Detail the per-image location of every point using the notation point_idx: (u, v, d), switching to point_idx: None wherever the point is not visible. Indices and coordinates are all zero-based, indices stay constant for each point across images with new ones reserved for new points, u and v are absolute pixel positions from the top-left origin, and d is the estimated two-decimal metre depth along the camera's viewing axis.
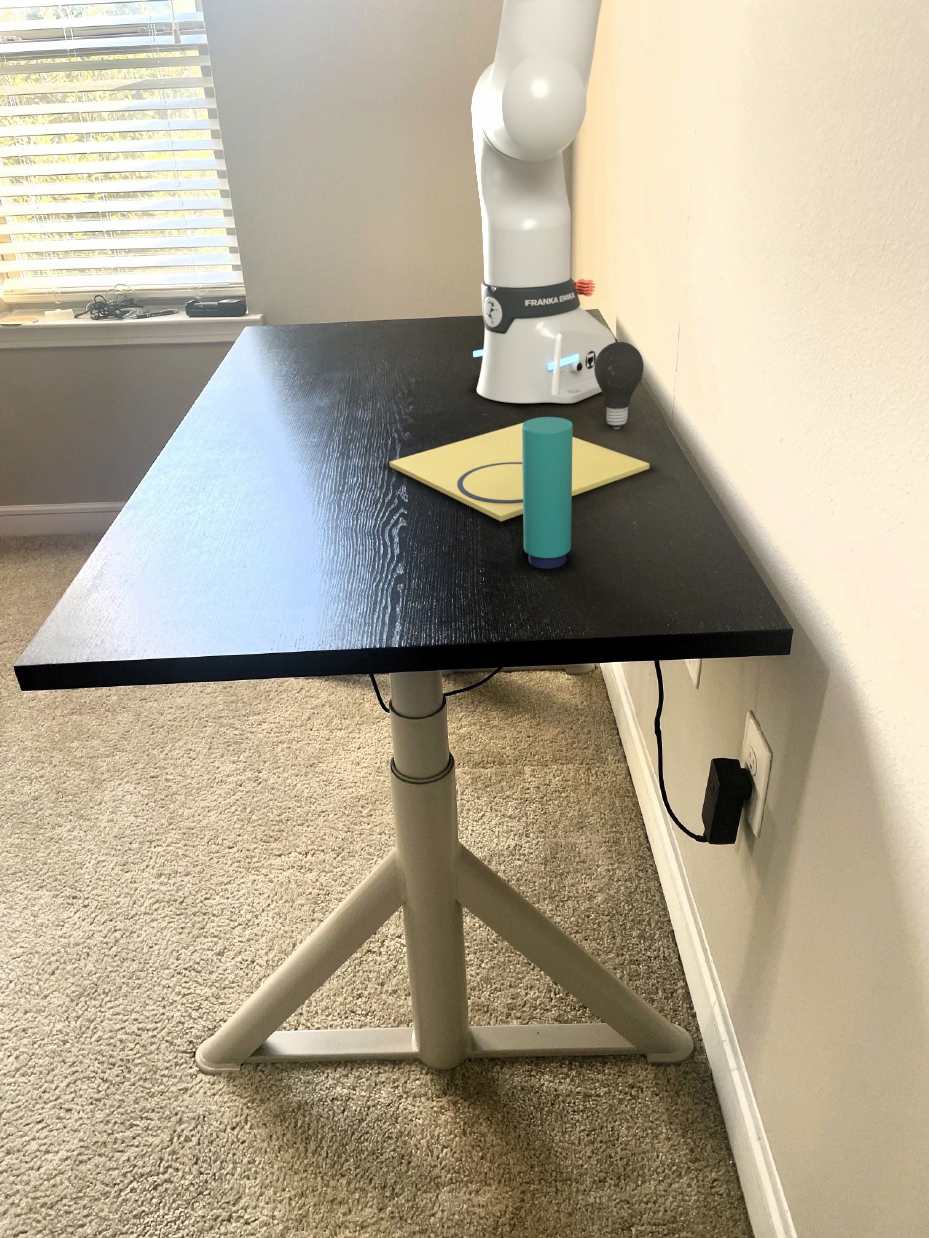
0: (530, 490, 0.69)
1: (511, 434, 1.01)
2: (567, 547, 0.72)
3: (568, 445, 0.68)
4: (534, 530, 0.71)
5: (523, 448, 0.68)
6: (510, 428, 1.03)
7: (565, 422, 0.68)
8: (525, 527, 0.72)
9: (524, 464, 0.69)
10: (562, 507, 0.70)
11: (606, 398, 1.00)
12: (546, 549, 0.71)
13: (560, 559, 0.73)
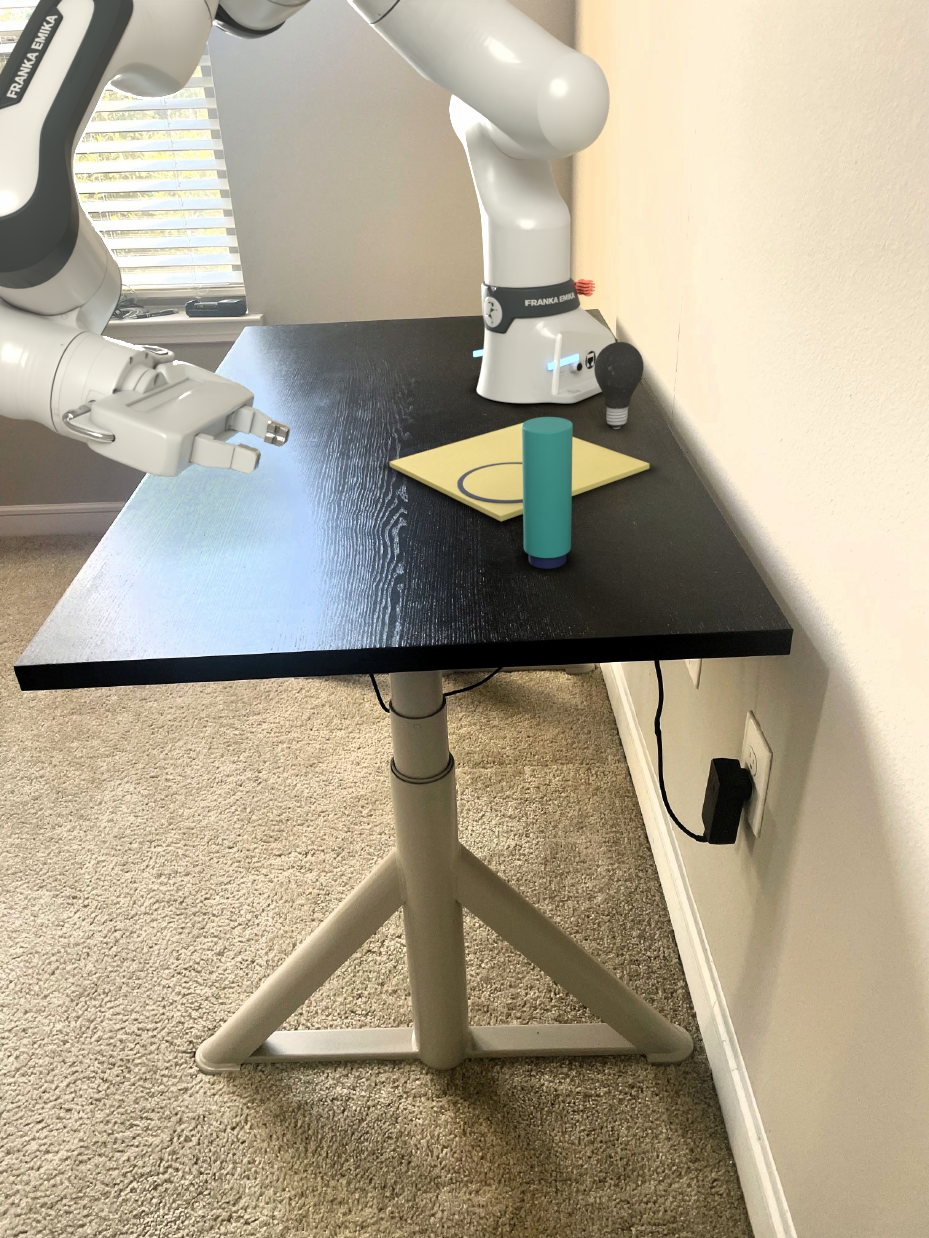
0: (530, 490, 0.69)
1: (511, 434, 1.01)
2: (567, 547, 0.72)
3: (568, 445, 0.68)
4: (534, 530, 0.71)
5: (523, 448, 0.68)
6: (510, 428, 1.03)
7: (565, 422, 0.68)
8: (525, 527, 0.72)
9: (524, 464, 0.69)
10: (562, 507, 0.70)
11: (606, 398, 1.00)
12: (546, 549, 0.71)
13: (560, 559, 0.73)
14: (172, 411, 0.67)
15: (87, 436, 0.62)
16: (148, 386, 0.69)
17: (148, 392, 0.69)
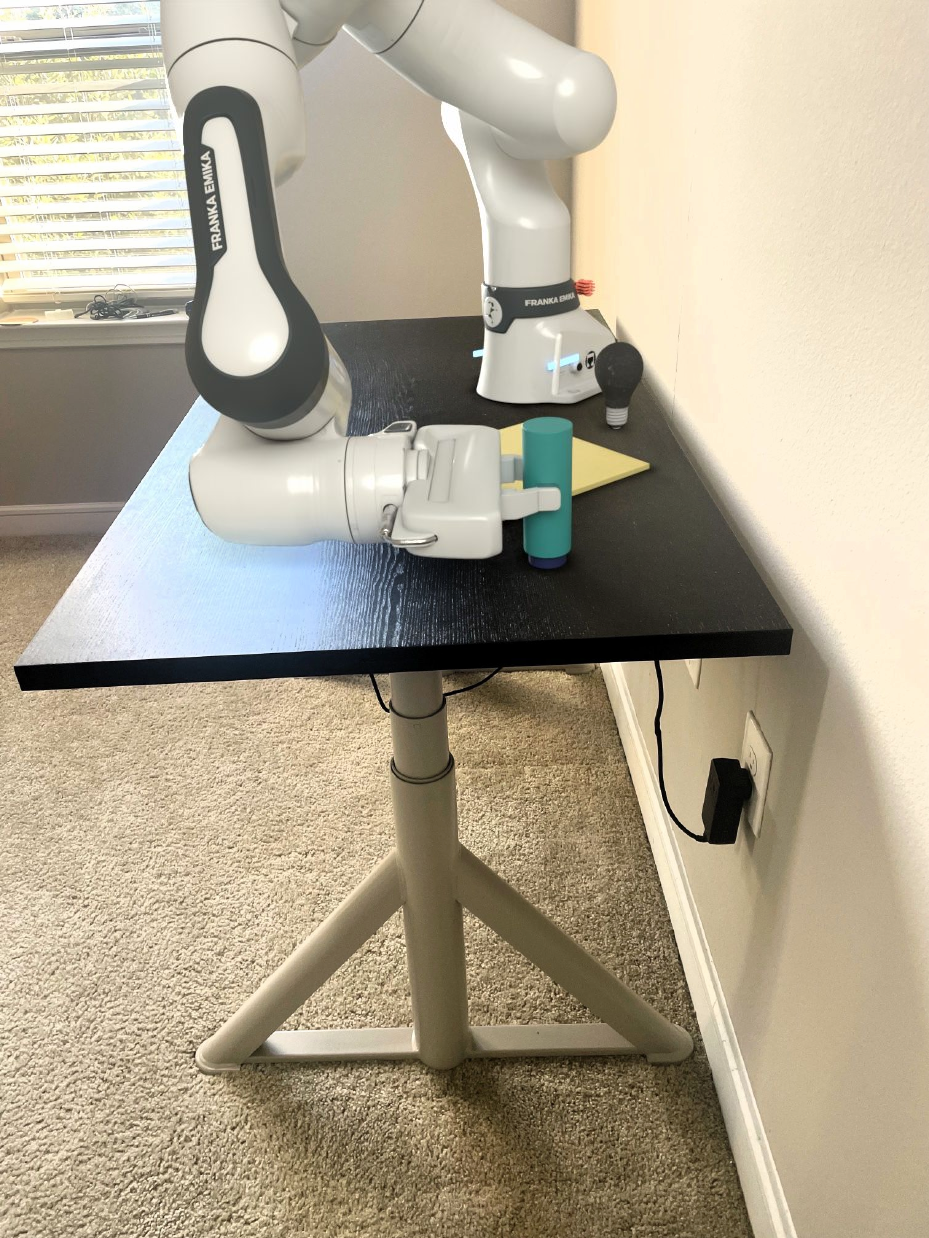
0: None
1: (511, 434, 1.01)
2: (567, 547, 0.72)
3: (569, 445, 0.68)
4: (534, 530, 0.71)
5: (523, 448, 0.68)
6: (510, 428, 1.03)
7: (565, 422, 0.68)
8: (525, 527, 0.72)
9: (524, 464, 0.69)
10: (562, 507, 0.70)
11: (606, 398, 1.00)
12: (546, 549, 0.71)
13: (560, 559, 0.73)
14: (467, 487, 0.66)
15: (413, 546, 0.62)
16: (427, 469, 0.68)
17: (429, 475, 0.69)
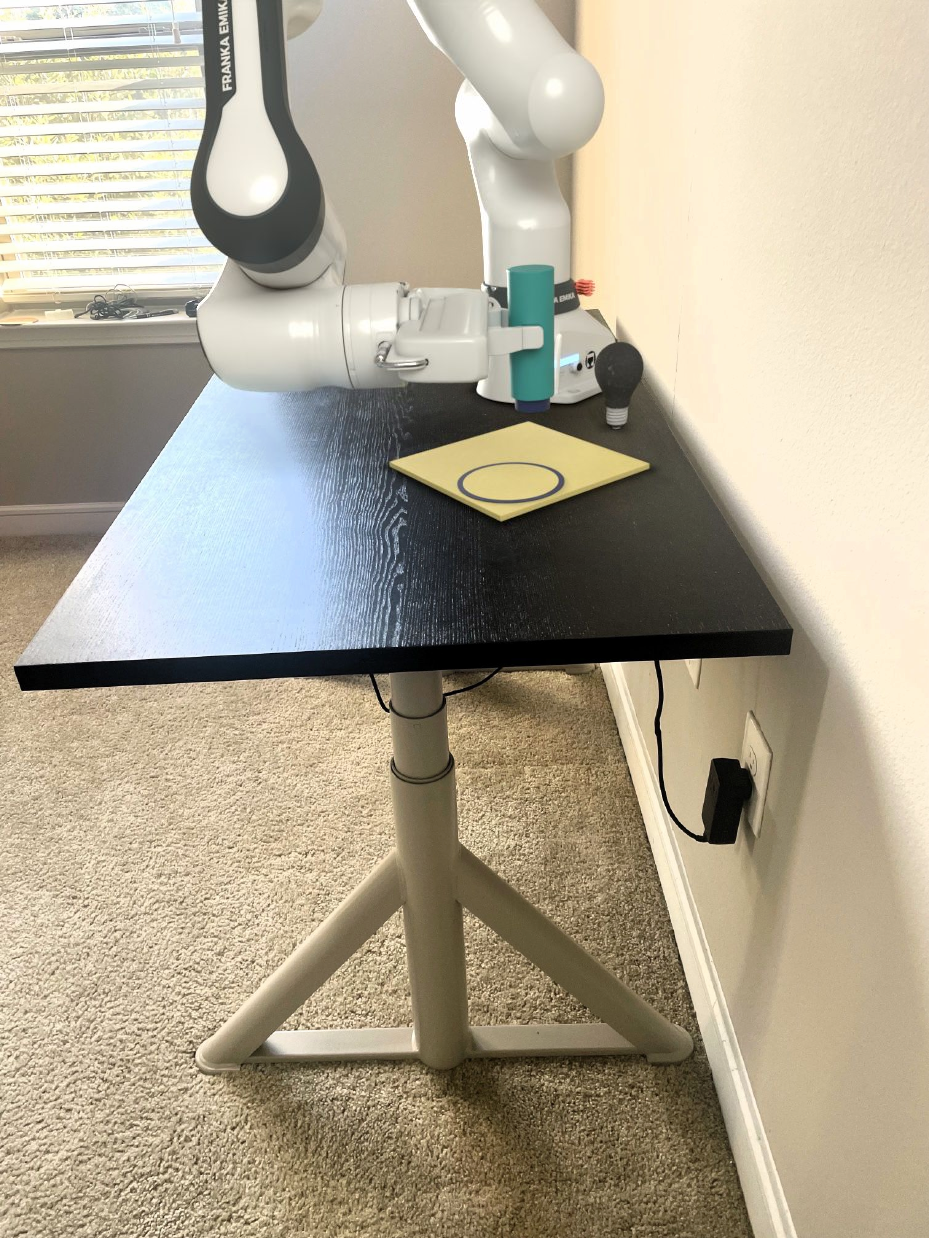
0: None
1: (511, 434, 1.01)
2: (551, 391, 0.77)
3: (550, 286, 0.72)
4: (519, 373, 0.76)
5: (508, 291, 0.73)
6: (510, 428, 1.03)
7: (547, 266, 0.73)
8: (511, 372, 0.77)
9: (509, 307, 0.74)
10: (545, 349, 0.75)
11: (606, 398, 1.00)
12: (531, 392, 0.76)
13: (544, 403, 0.78)
14: (456, 323, 0.71)
15: (405, 368, 0.67)
16: (419, 312, 0.73)
17: (420, 317, 0.74)
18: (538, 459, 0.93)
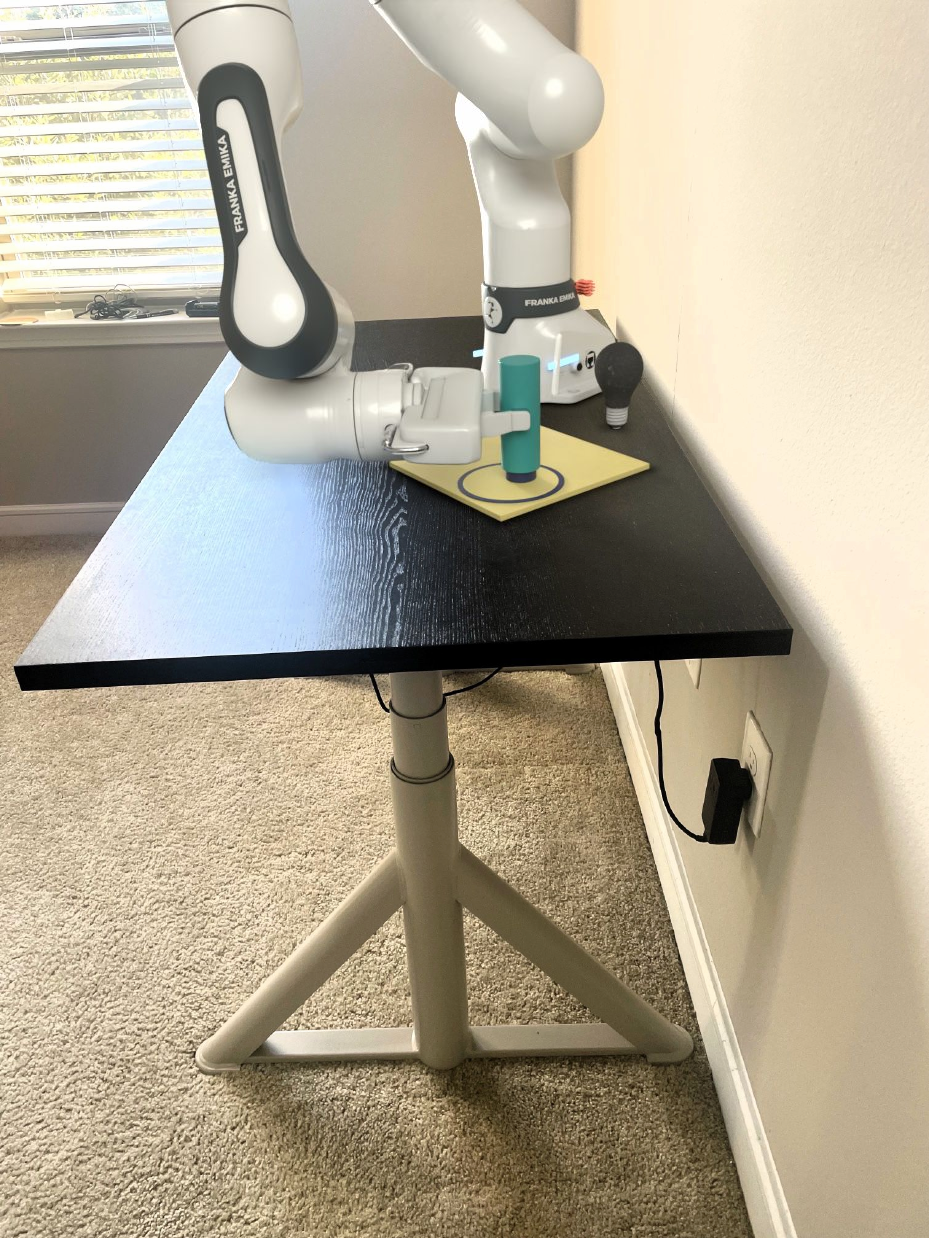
0: None
1: None
2: (537, 465, 0.87)
3: (537, 376, 0.82)
4: (509, 449, 0.86)
5: (500, 379, 0.83)
6: None
7: (534, 358, 0.83)
8: (502, 447, 0.87)
9: (500, 393, 0.84)
10: (532, 429, 0.85)
11: (606, 398, 1.00)
12: (519, 465, 0.86)
13: (531, 475, 0.87)
14: (453, 410, 0.81)
15: (409, 453, 0.77)
16: (421, 397, 0.83)
17: (422, 402, 0.83)
18: None
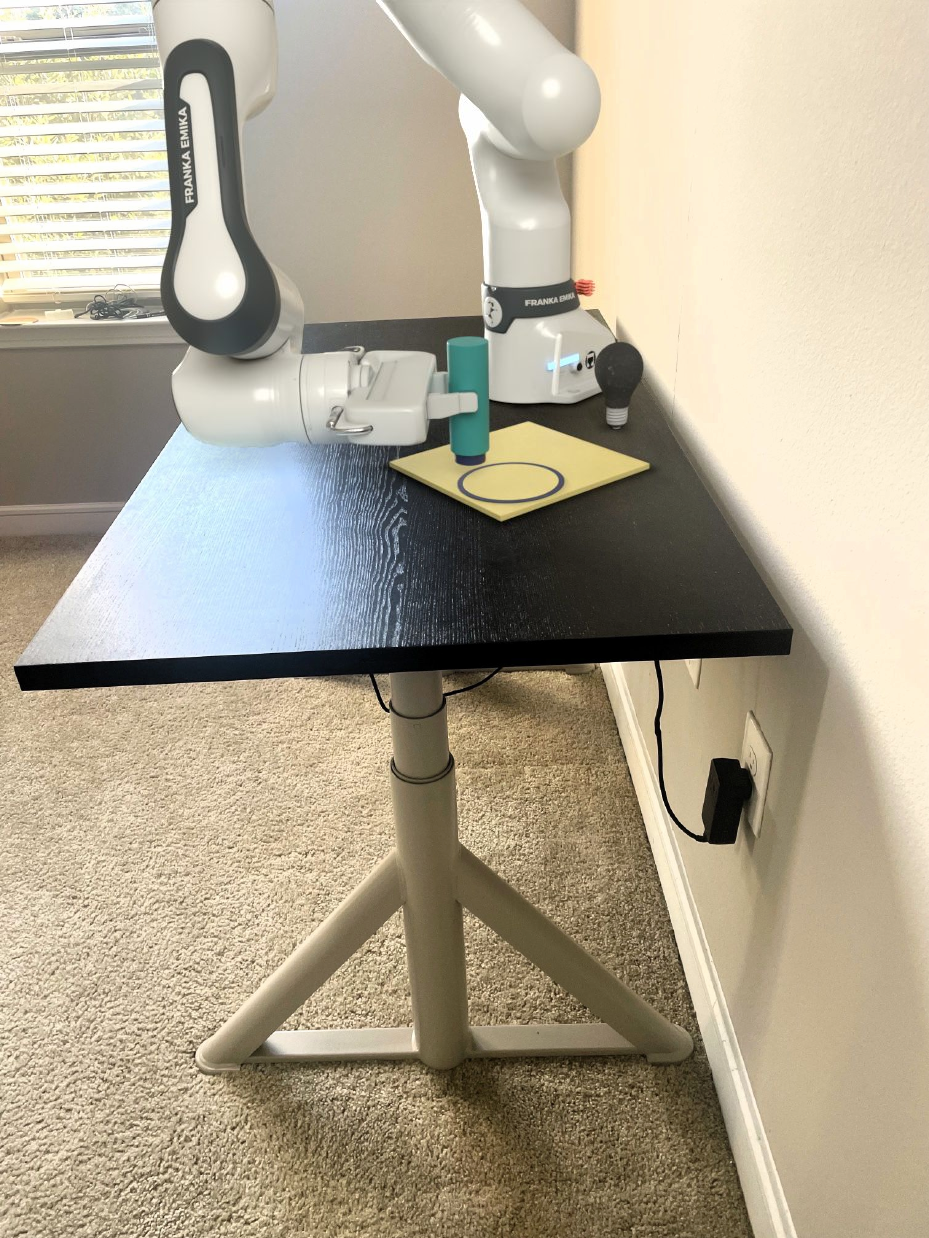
0: None
1: (511, 434, 1.01)
2: (485, 448, 0.87)
3: (484, 358, 0.82)
4: (457, 431, 0.85)
5: (448, 360, 0.83)
6: (510, 428, 1.03)
7: (483, 340, 0.83)
8: (450, 429, 0.86)
9: (449, 374, 0.83)
10: (480, 412, 0.84)
11: (606, 398, 1.00)
12: (467, 448, 0.86)
13: (480, 458, 0.87)
14: (399, 391, 0.80)
15: (352, 434, 0.77)
16: (368, 379, 0.83)
17: (370, 384, 0.83)
18: (538, 459, 0.93)
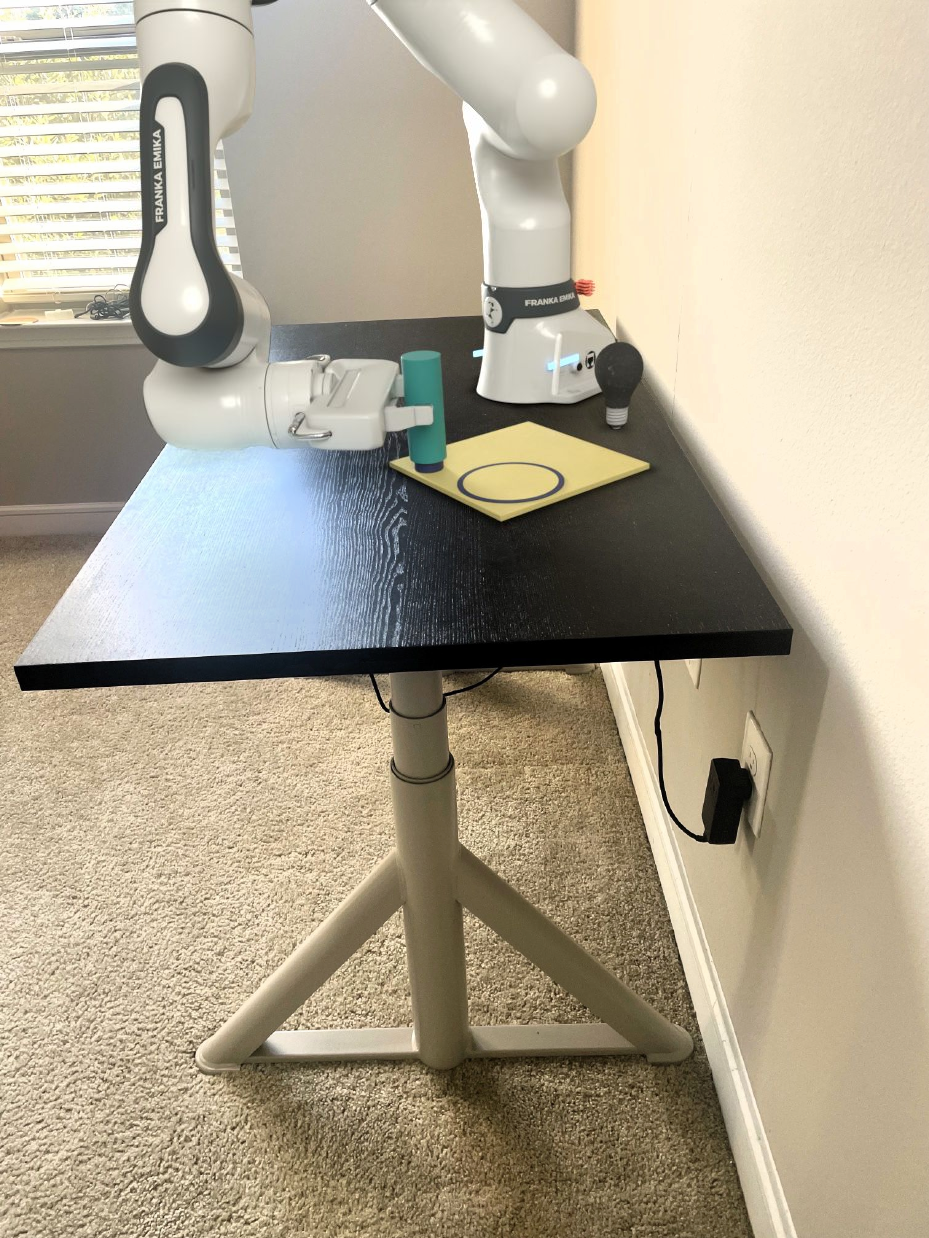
0: None
1: (511, 434, 1.01)
2: (442, 456, 0.91)
3: (437, 371, 0.86)
4: (414, 441, 0.90)
5: (402, 374, 0.87)
6: (510, 428, 1.03)
7: (435, 353, 0.87)
8: (408, 439, 0.91)
9: (404, 387, 0.88)
10: (435, 422, 0.89)
11: (606, 398, 1.00)
12: (424, 456, 0.90)
13: (437, 465, 0.91)
14: (359, 398, 0.85)
15: (312, 439, 0.81)
16: (330, 387, 0.87)
17: (332, 391, 0.87)
18: (538, 459, 0.93)
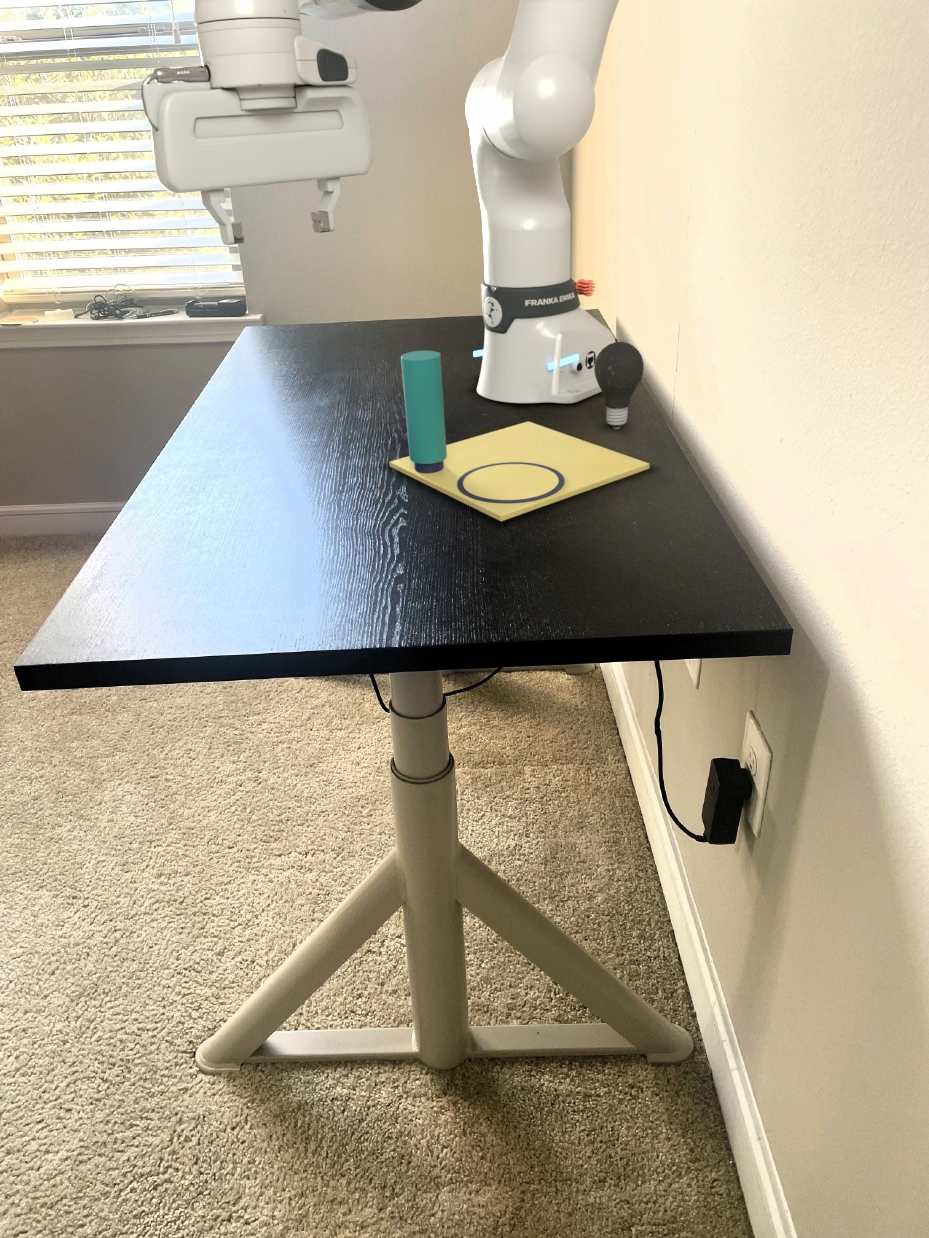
0: (409, 408, 0.88)
1: (511, 434, 1.01)
2: (442, 456, 0.91)
3: (437, 371, 0.86)
4: (414, 441, 0.90)
5: (402, 374, 0.87)
6: (510, 428, 1.03)
7: (435, 353, 0.87)
8: (408, 439, 0.91)
9: (404, 387, 0.88)
10: (435, 422, 0.89)
11: (606, 398, 1.00)
12: (424, 456, 0.90)
13: (437, 465, 0.91)
14: (226, 155, 0.74)
15: (144, 107, 0.71)
16: (254, 109, 0.74)
17: (251, 111, 0.74)
18: (538, 459, 0.93)
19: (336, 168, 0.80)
